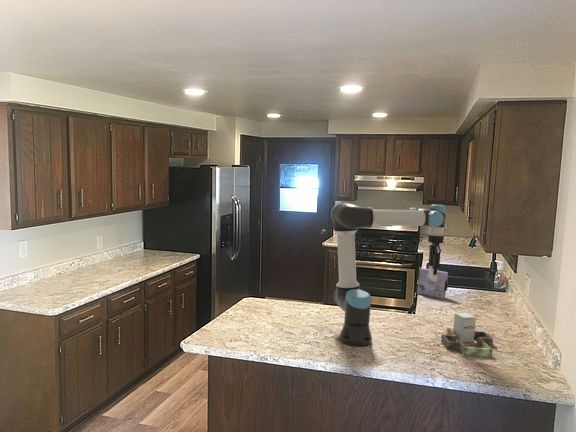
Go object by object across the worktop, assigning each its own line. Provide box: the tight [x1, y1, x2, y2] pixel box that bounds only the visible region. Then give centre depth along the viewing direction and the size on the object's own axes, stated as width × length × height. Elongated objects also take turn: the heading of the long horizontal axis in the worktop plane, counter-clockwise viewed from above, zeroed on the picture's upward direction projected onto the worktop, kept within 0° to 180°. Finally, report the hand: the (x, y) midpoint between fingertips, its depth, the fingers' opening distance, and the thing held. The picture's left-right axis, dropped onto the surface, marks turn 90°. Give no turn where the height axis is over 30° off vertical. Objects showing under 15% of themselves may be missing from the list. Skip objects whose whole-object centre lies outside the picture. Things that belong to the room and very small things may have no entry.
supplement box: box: [452, 312, 477, 343], centre depth 237 cm, size 7×7×13 cm
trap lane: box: [440, 328, 494, 358], centre depth 229 cm, size 24×27×4 cm
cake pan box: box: [416, 267, 449, 299], centre depth 323 cm, size 19×5×18 cm, turn 58°
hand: (432, 279), depth 247 cm, fingers open, 5 cm apart
